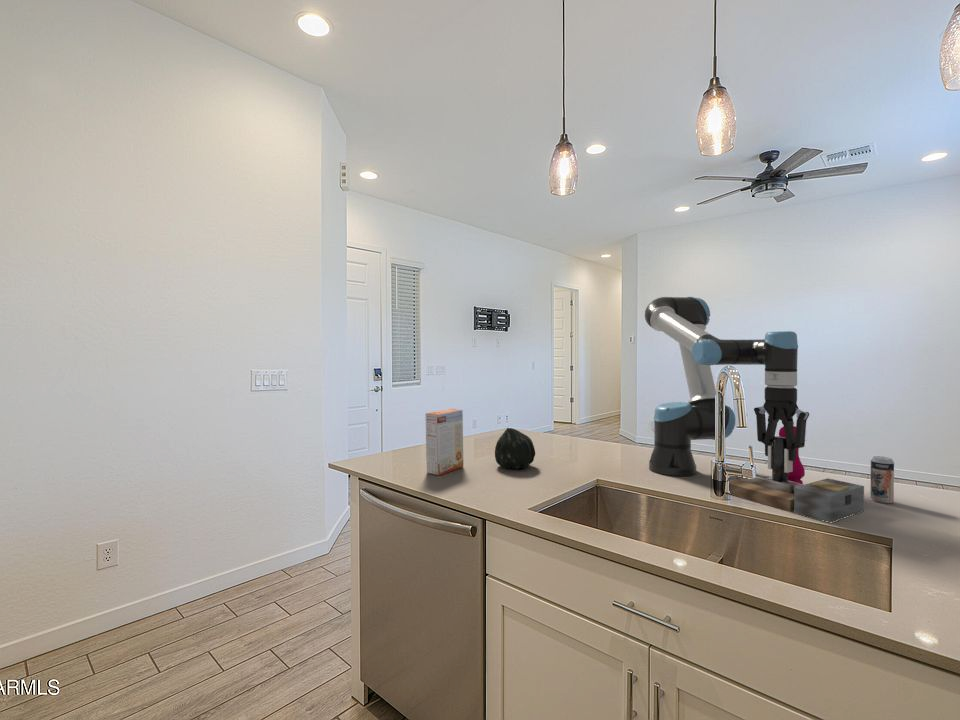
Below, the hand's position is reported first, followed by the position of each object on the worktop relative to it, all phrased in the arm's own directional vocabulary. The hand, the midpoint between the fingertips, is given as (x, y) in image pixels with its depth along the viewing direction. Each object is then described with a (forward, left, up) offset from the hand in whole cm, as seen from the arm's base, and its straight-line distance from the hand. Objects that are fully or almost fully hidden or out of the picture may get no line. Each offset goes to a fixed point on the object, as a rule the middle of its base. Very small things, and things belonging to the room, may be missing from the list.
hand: (780, 469), depth 123 cm
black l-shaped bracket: (+3, 0, -5) cm, 6 cm away
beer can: (+15, +22, -8) cm, 28 cm away
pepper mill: (-5, +16, -8) cm, 19 cm away
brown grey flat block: (+2, 0, -8) cm, 8 cm away
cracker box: (-73, -70, -8) cm, 102 cm away
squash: (-65, -46, -8) cm, 80 cm away
